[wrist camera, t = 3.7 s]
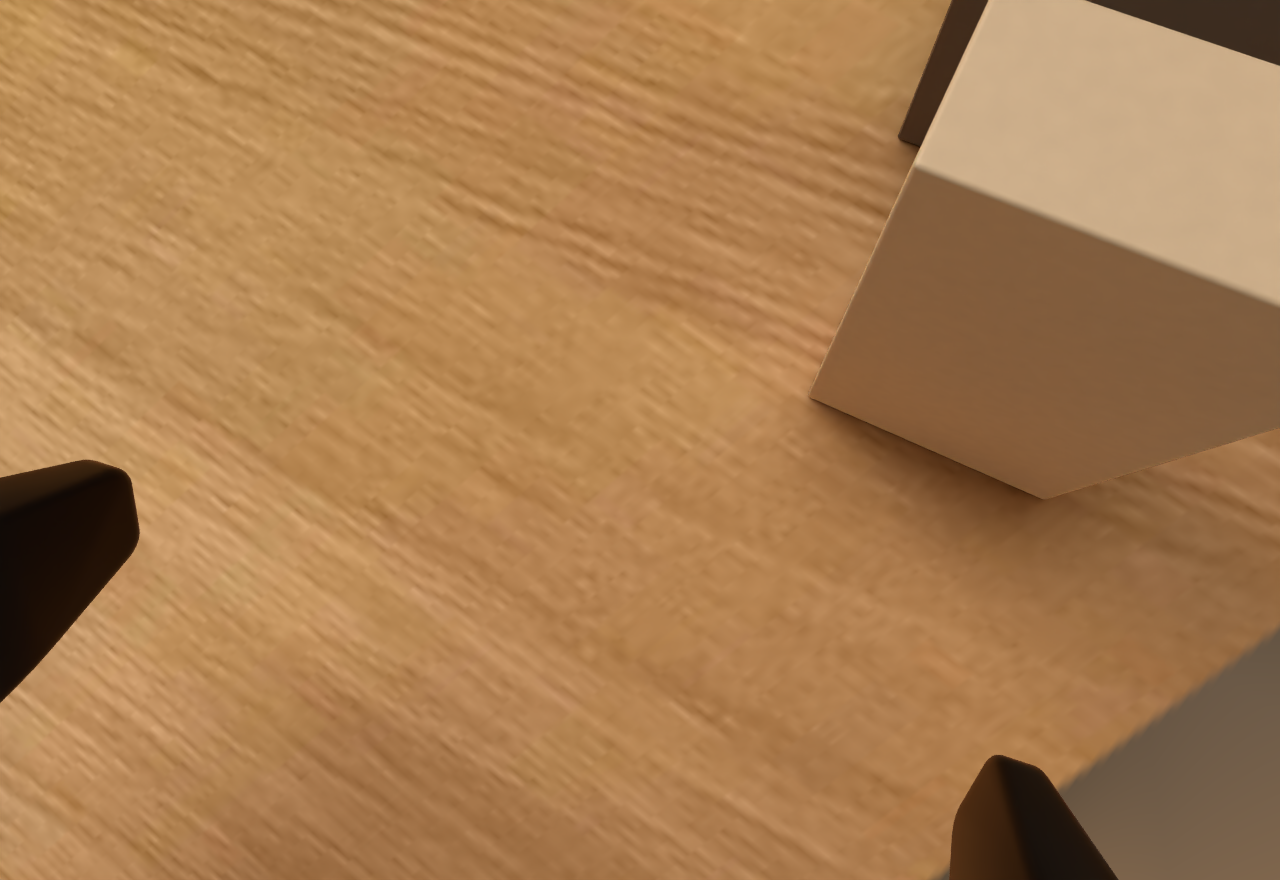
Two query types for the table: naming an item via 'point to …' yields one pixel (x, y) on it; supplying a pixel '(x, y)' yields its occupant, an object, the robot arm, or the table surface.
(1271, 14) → the grey books
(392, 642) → the table surface
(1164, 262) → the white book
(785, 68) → the table surface
